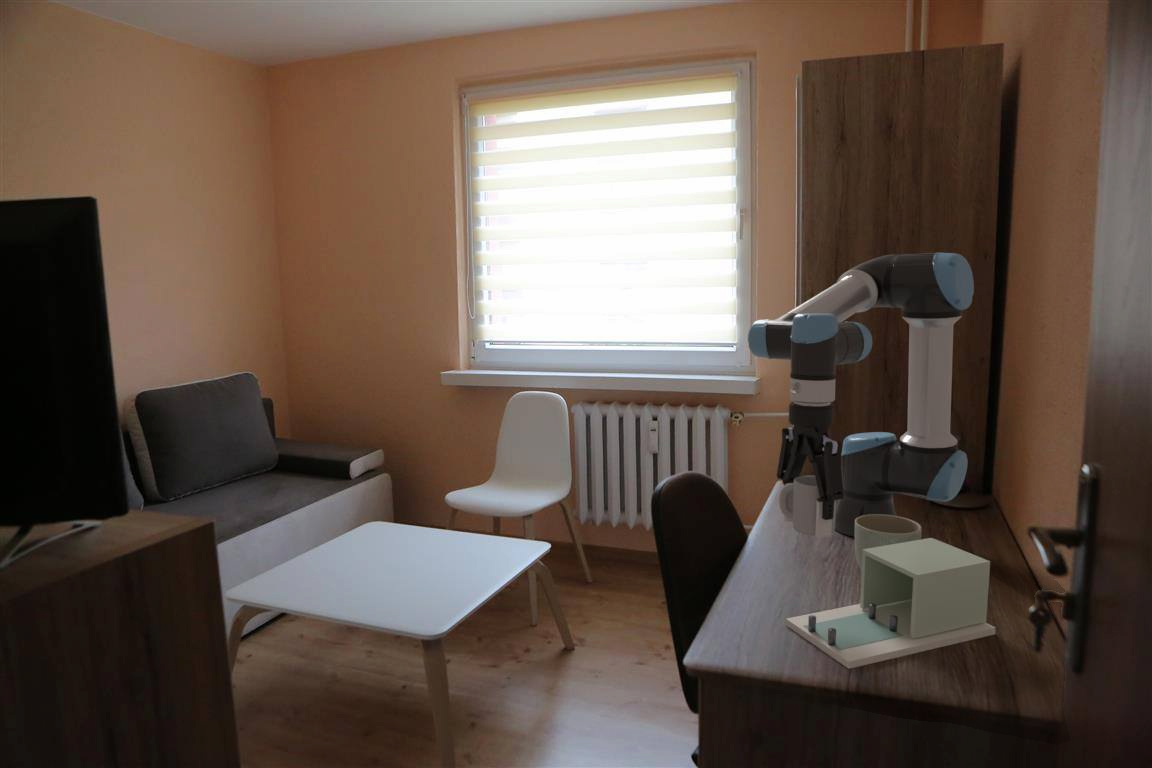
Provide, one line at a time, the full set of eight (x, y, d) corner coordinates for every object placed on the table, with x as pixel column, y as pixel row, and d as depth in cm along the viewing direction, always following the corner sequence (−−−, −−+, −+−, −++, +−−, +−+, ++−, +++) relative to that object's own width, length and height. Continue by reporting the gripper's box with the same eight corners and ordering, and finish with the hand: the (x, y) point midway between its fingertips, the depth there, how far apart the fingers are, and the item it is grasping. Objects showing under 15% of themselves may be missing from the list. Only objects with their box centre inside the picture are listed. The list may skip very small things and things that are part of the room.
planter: (842, 565, 159) (844, 515, 158) (899, 562, 160) (902, 513, 159) (869, 589, 147) (871, 535, 145) (930, 586, 148) (934, 532, 146)
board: (921, 597, 143) (921, 590, 143) (995, 634, 128) (995, 627, 128) (785, 625, 132) (785, 618, 132) (848, 668, 117) (849, 661, 117)
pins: (872, 616, 132) (872, 602, 132) (898, 631, 127) (899, 617, 126) (806, 630, 128) (807, 616, 127) (831, 646, 122) (831, 632, 122)
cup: (827, 539, 130) (829, 488, 128) (771, 528, 135) (772, 480, 134) (840, 527, 135) (841, 479, 134) (785, 518, 141) (786, 471, 140)
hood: (928, 593, 141) (931, 537, 139) (986, 621, 129) (990, 561, 128) (859, 607, 135) (862, 549, 134) (913, 638, 124) (917, 575, 122)
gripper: (759, 394, 141) (755, 513, 144) (832, 413, 121) (827, 550, 124) (793, 392, 143) (789, 509, 146) (871, 411, 123) (865, 545, 126)
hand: (806, 527), depth 135 cm, fingers closed on cup, 9 cm apart
